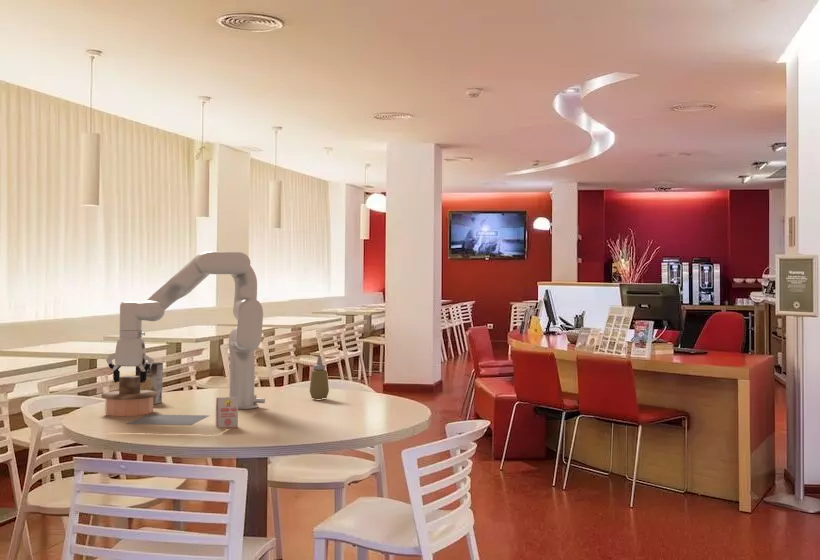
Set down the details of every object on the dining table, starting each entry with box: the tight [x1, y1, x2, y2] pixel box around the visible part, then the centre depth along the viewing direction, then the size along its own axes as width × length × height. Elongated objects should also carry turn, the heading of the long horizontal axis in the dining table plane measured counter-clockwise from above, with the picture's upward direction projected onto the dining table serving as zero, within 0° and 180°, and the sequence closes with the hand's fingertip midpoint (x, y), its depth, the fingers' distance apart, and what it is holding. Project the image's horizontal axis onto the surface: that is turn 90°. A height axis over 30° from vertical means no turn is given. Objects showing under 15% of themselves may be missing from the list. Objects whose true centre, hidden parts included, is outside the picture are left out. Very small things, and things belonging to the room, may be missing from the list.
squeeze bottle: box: [309, 356, 330, 399], centre depth 322 cm, size 8×8×18 cm
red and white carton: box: [215, 396, 239, 429], centre depth 254 cm, size 4×7×10 cm, turn 109°
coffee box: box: [135, 361, 164, 405], centre depth 308 cm, size 9×6×16 cm
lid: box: [101, 375, 157, 400], centre depth 280 cm, size 19×19×7 cm
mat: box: [126, 413, 210, 426], centre depth 265 cm, size 22×20×1 cm
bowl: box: [104, 397, 154, 417], centre depth 280 cm, size 16×16×6 cm
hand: (129, 382), depth 280 cm, fingers open, 9 cm apart
